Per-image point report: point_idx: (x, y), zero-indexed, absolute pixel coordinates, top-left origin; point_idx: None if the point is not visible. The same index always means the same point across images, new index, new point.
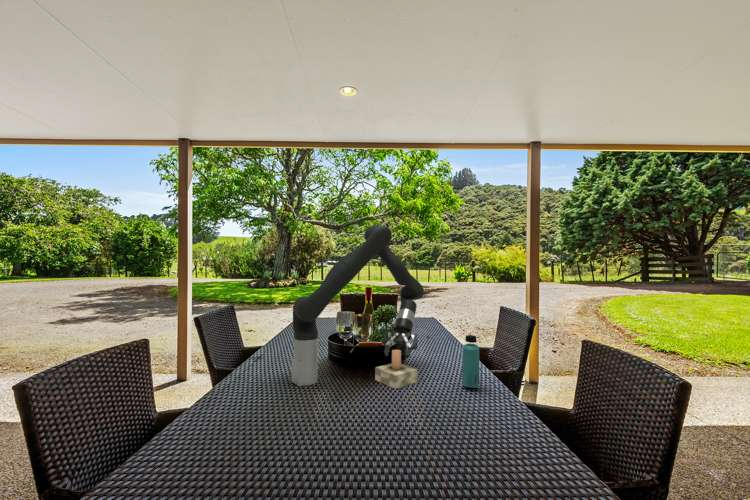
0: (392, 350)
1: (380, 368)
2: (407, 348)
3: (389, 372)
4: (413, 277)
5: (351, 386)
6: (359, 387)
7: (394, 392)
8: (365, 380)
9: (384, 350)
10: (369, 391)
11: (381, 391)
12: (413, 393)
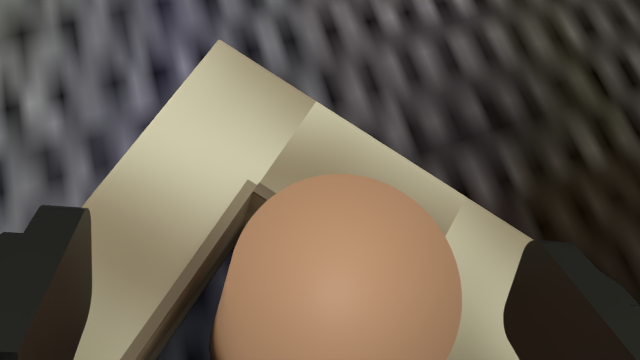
0: (447, 275)
1: (487, 241)
2: (10, 328)
3: (325, 126)
4: None
5: (598, 65)
6: (531, 62)
7: (204, 32)
8: (566, 240)
9: (630, 303)
10: (419, 3)
11: (324, 26)
12: (12, 52)
